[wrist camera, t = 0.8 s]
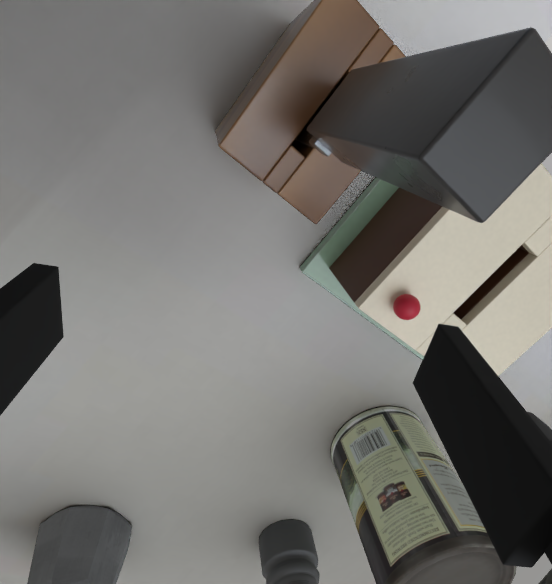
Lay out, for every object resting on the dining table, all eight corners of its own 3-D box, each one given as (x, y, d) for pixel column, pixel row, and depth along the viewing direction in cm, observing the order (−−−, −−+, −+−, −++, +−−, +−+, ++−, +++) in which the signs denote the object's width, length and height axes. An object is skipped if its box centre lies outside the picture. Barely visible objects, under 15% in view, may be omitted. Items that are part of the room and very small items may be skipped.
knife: (262, 120, 26) (410, 168, 7) (292, 80, 25) (545, 11, 6) (286, 141, 26) (476, 234, 8) (315, 102, 26) (603, 101, 7)
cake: (328, 268, 31) (367, 320, 23) (450, 127, 28) (540, 136, 20) (431, 346, 36) (490, 410, 28) (545, 234, 33) (646, 273, 25)
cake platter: (299, 267, 32) (301, 272, 31) (445, 93, 28) (453, 93, 27) (424, 359, 38) (430, 365, 37) (559, 227, 34) (569, 230, 33)
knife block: (214, 131, 26) (217, 146, 18) (290, 22, 25) (338, -24, 16) (282, 187, 29) (316, 225, 20) (357, 91, 27) (432, 85, 18)
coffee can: (386, 487, 45) (456, 638, 32) (311, 464, 41) (356, 622, 29) (444, 422, 42) (545, 560, 29) (367, 391, 38) (445, 533, 26)
